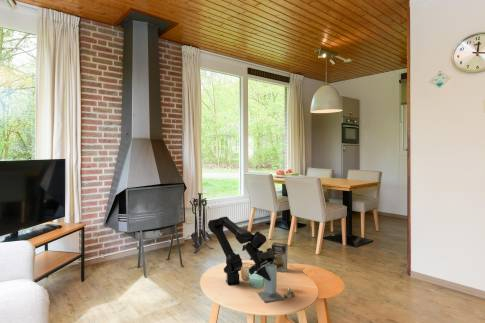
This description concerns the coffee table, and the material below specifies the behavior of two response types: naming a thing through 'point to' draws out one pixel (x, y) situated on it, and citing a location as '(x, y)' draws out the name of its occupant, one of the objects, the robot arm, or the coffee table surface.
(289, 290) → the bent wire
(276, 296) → the rubber mat
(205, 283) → the coffee table surface
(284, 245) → the coffee box
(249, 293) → the coffee table surface
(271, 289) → the slate block
